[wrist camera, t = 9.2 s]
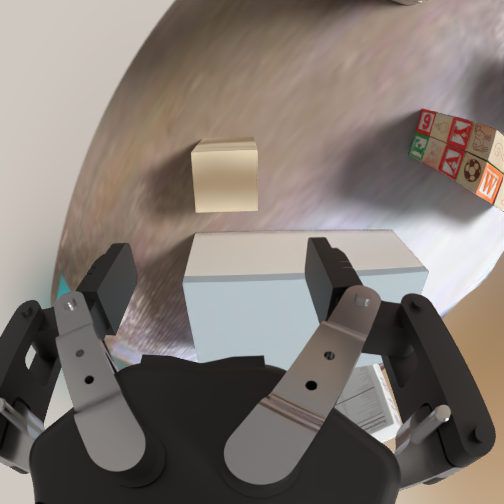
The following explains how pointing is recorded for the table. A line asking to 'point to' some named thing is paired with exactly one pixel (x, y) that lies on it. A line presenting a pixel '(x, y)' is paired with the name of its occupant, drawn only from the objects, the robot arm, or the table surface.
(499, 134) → the stack of blocks
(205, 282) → the box lid
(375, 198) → the table surface
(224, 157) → the beech block
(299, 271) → the storage box
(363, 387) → the supplement box
